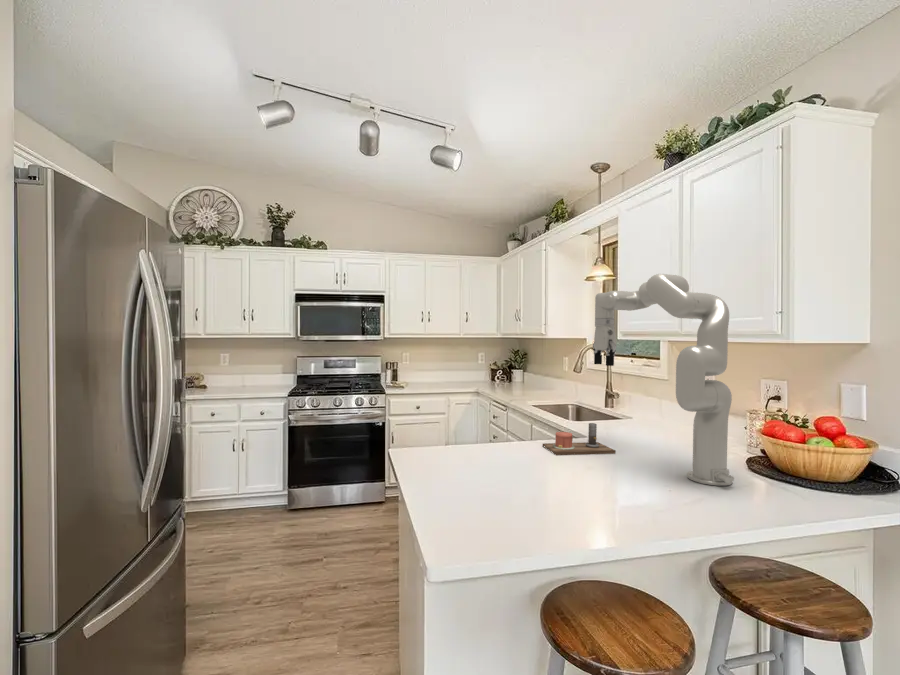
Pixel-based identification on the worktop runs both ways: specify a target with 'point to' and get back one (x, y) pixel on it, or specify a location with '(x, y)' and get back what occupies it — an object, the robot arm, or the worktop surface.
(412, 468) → the worktop surface
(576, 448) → the post board
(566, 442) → the cap
